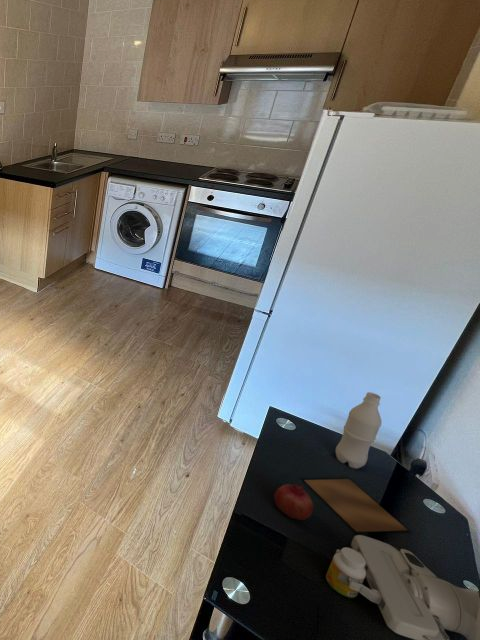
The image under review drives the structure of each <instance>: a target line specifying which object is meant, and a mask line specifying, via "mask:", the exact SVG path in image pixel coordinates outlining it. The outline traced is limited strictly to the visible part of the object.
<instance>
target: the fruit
mask: <svg viewBox="0 0 480 640" xmlns="http://www.w3.org/2000/svg"><path fill="white" fill-rule="evenodd" d="M273 498H274V501H275V505H276V507H277V508H278V510H280V511H281V512H282V513H283V514H284V515H286V516H288V517H289V518H291V519H293V520H294V519H295V520H299V521H304V520H307V519H308V518H310V517H311V516H312V514H313V511H314V502H313V500H312V498H311V496H310V494H309V493H307V492H306V490H304V488H303V485H301V484H299V483H293V484H289V483H285V484H283V485H281V486H280V487H278V488H277V489H276V491H275V493H274V495H273Z"/></svg>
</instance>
